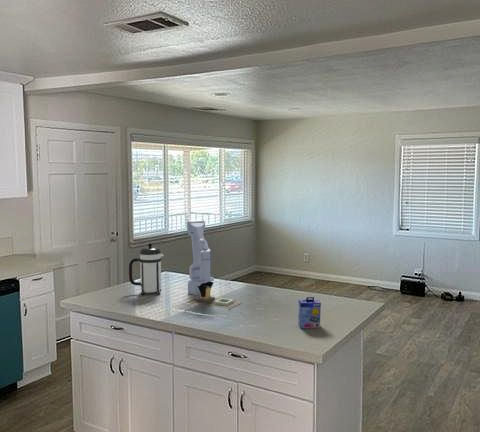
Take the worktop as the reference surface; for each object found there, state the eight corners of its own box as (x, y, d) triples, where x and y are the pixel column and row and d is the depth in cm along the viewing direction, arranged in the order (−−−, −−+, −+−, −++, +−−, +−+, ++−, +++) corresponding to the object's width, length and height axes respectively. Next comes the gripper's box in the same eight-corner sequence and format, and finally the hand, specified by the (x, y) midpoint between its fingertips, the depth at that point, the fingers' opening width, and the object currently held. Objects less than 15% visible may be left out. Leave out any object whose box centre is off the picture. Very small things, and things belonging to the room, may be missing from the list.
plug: (200, 300, 265) (200, 286, 265) (204, 298, 269) (204, 285, 268) (206, 301, 264) (206, 287, 263) (210, 299, 267) (210, 285, 266)
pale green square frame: (214, 304, 259) (214, 301, 259) (221, 300, 266) (221, 298, 265) (226, 306, 255) (226, 303, 255) (233, 302, 262) (233, 299, 262)
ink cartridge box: (299, 328, 222) (300, 298, 221) (297, 324, 228) (297, 294, 226) (320, 328, 223) (321, 297, 222) (318, 324, 229) (318, 294, 227)
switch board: (187, 303, 264) (187, 301, 263) (201, 297, 276) (201, 295, 276) (228, 310, 251) (228, 308, 251) (241, 303, 263) (241, 301, 263)
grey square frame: (195, 301, 265) (195, 298, 265) (203, 297, 271) (203, 295, 271) (207, 302, 261) (207, 300, 261) (214, 299, 268) (214, 296, 268)
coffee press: (152, 288, 297) (152, 240, 294) (168, 292, 286) (168, 243, 283) (128, 293, 285) (127, 243, 282) (144, 298, 274) (143, 246, 271)
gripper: (204, 275, 256) (204, 299, 258) (218, 269, 269) (218, 293, 270) (193, 273, 260) (193, 298, 261) (207, 268, 272) (207, 292, 274)
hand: (205, 295), depth 266 cm, fingers closed on plug, 4 cm apart
